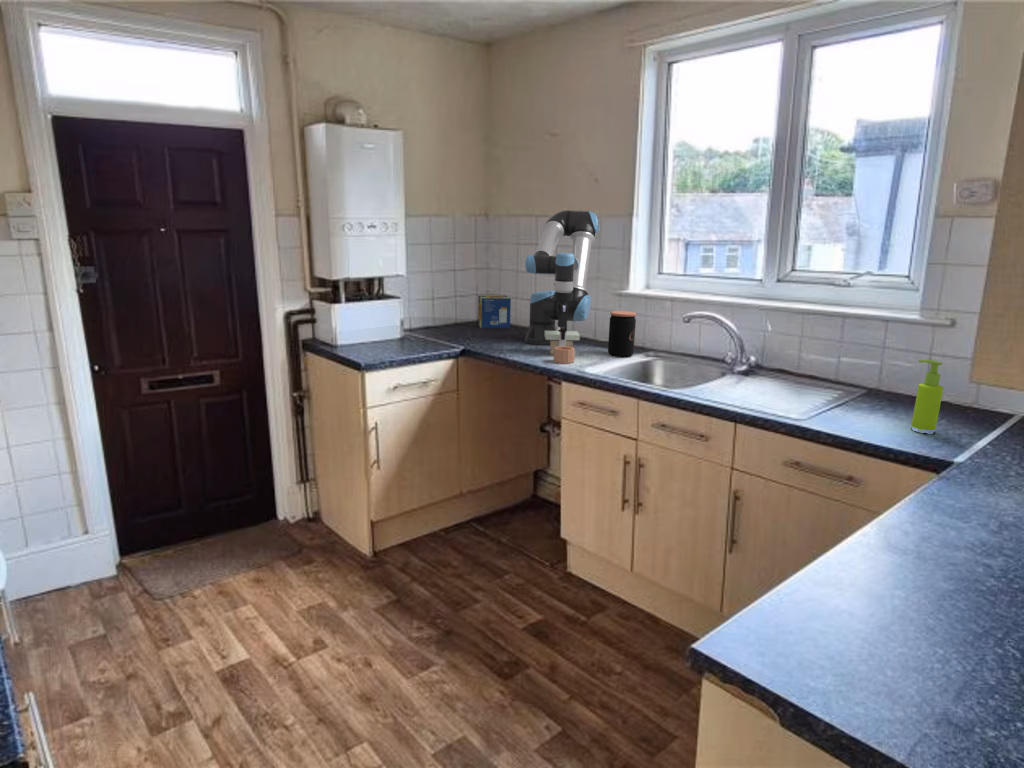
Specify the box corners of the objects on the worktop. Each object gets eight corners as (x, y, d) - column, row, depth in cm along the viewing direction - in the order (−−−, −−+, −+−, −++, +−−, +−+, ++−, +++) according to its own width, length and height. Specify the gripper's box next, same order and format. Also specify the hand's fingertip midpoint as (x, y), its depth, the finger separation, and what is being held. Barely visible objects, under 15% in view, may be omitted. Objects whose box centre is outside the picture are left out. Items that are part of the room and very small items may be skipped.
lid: (544, 335, 285) (544, 330, 284) (577, 335, 285) (577, 331, 284) (545, 339, 275) (545, 334, 274) (579, 340, 275) (579, 335, 274)
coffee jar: (633, 358, 275) (635, 314, 271) (606, 356, 277) (609, 313, 273) (633, 353, 285) (636, 311, 281) (608, 352, 287) (610, 310, 283)
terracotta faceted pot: (553, 359, 270) (553, 346, 268) (573, 359, 270) (573, 346, 268) (554, 363, 262) (554, 349, 260) (574, 364, 262) (575, 350, 260)
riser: (549, 352, 284) (550, 337, 283) (571, 352, 284) (571, 337, 283) (550, 354, 278) (551, 339, 277) (572, 355, 278) (573, 340, 277)
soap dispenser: (912, 425, 192) (924, 357, 187) (938, 432, 187) (951, 362, 182) (902, 429, 189) (915, 359, 184) (929, 435, 183) (942, 364, 178)
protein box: (477, 325, 349) (477, 295, 346) (506, 324, 353) (507, 295, 349) (480, 328, 340) (481, 297, 336) (510, 328, 343) (511, 297, 339)
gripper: (552, 288, 286) (551, 339, 291) (556, 294, 264) (554, 349, 269) (570, 288, 286) (568, 339, 291) (575, 294, 264) (572, 350, 270)
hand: (561, 344), depth 280 cm, fingers closed on lid, 10 cm apart
